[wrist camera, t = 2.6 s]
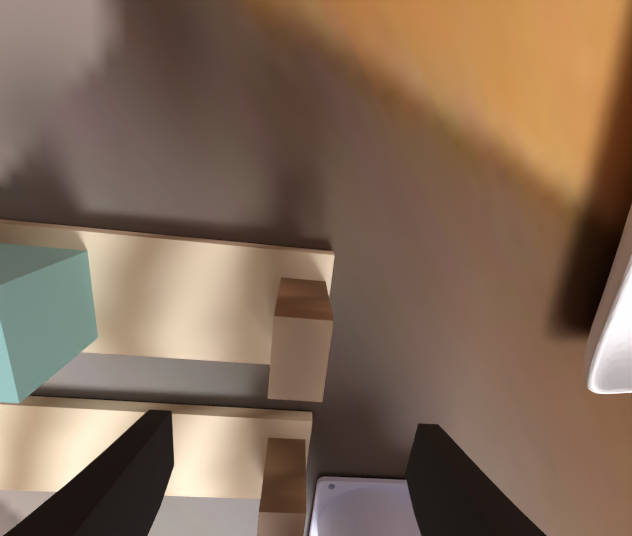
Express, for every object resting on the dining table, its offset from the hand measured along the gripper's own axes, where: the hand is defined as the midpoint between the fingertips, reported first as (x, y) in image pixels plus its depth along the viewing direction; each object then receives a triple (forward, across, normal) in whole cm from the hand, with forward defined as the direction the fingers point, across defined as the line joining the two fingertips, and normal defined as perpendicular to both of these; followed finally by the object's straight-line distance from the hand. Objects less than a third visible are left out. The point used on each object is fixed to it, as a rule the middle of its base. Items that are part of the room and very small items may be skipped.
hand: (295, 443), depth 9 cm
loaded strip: (+9, +8, 0) cm, 13 cm away
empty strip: (+9, +8, +11) cm, 17 cm away
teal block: (+8, +13, 0) cm, 16 cm away
